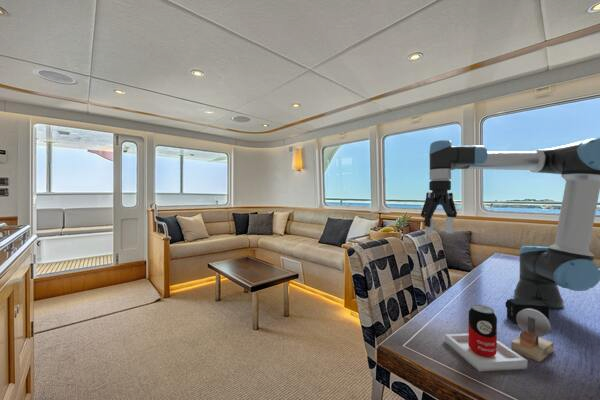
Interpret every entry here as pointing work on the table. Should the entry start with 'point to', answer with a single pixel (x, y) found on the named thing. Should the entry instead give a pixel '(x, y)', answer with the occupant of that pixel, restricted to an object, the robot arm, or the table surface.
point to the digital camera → (518, 305)
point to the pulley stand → (532, 335)
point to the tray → (499, 361)
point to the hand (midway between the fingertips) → (439, 234)
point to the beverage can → (482, 330)
